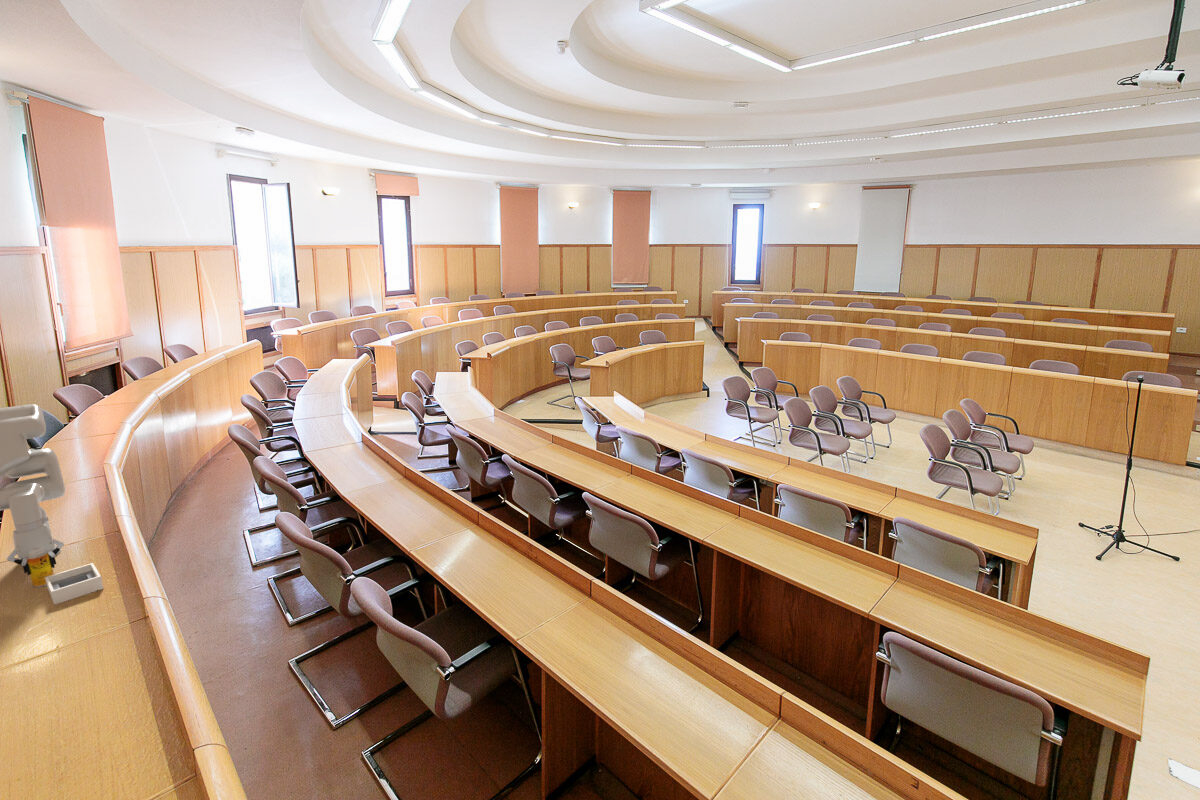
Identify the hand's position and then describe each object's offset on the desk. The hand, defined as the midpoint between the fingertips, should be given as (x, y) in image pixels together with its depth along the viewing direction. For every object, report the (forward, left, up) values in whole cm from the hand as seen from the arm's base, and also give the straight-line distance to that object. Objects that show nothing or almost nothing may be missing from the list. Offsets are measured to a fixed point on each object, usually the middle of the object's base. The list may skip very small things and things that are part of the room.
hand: (40, 569), depth 224 cm
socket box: (+13, +7, -6) cm, 16 cm away
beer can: (0, 0, -6) cm, 6 cm away
